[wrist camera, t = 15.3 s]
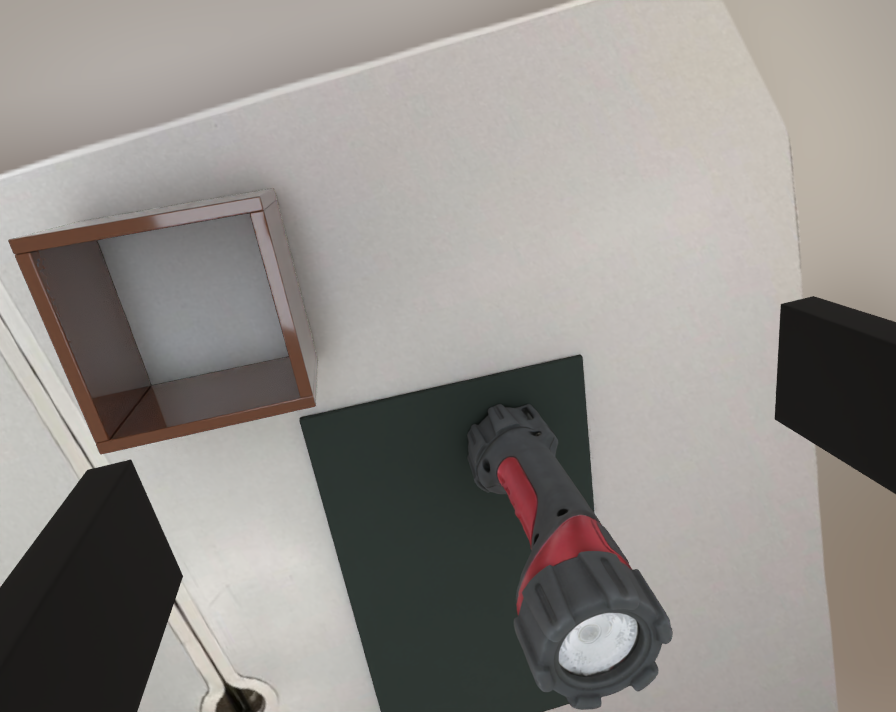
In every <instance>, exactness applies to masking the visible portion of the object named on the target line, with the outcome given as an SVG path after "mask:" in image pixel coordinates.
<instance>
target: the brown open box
mask: <svg viewBox="0 0 896 712" xmlns="http://www.w3.org/2000/svg"><path fill="white" fill-rule="evenodd" d="M276 199H277V197H276V193H275V189H274V188H270V189H264V190H258V191H252V192H247V193H241V194H235V195H229V196H223V197H218V198H212V199H206V200H200V201H194V202H189V203H183V204H177V205H171V206H165V207H160V208H154V209H148V210H142V211H136V212H131V213H125V214H119V215H113V216H107V217H102V218H96V219H90V220H84V221H78V222H74V223H71V224H67V225H63V226H59V227H55V228H51V229H48V230H44V231H40V232H36V233H32V234H29V235H25V236H21V237H17V238H13V239H9V240H8V242H9V244H10V246H11V249H12V251H13V253H14V254H16V255H15V258H16V260H17V262H18V264H19V267H20V269H21V271H22V274H23V276H24V278H25V281H26V283H27V285H28V288H29V290H30V292H31V295H32V297H33V299H34V302H35V304H36V306H37V309H38V311H39V313H40V316H41V318H42V320H43V322H44V325H45V327H46V329H47V332H48V334H49V336H50V339H51V341H52V343H53V346H54V348H55V350H56V353H57V355H58V357H59V360H60V362H61V364H62V367H63V369H64V371H65V374H66V376H67V378H68V380H69V383H70V385H71V387H72V390H73V392H74V394H75V397H76V399H77V401H78V404H79V406H80V408H81V411H82V413H83V415H84V418H85V420H86V422H87V425H88V427H89V429H90V432H91V434H92V436H93V438H94V441H95V443H96V446H97V448H98V450H99V453H100V454H105V453H110V452H114V451H119V450H123V449H128V448H132V447H137V446H141V445H145V444H150V443H154V442H159V441H163V440H168V439H172V438H177V437H181V436H186V435H190V434H195V433H199V432H204V431H208V430H212V429H217V428H221V427H226V426H230V425H235V424H239V423H244V422H248V421H253V420H257V419H262V418H266V417H271V416H275V415H280V414H284V413H288V412H293V411H297V410H302V409H306V408H311V407H315V406H316V392H317V371H318V357H317V353H316V349H315V345H314V341H313V337H312V334H311V330H310V326H309V322H308V318H307V314H306V310H305V306H304V302H303V298H302V294H301V291H300V287H299V283H298V279H297V275H296V271H295V267H294V263H293V259H292V255H291V251H290V247H289V244H288V240H287V236H286V232H285V228H284V224H283V220H282V216H281V212H280V208H279V204H278V201H277V200H276ZM247 213H250V216H251V220H252V224H253V227H254V231H255V235H256V238H257V242H258V245H259V249H260V253H261V256H262V260H263V264H264V267H265V271H266V275H267V278H268V282H269V285H270V289H271V293H272V296H273V300H274V304H275V307H276V311H277V315H278V318H279V322H280V325H281V329H282V333H283V336H284V340H285V344H286V347H287V351H288V355H289V357H284V358H279V359H275V360H270V361H265V362H260V363H256V364H251V365H246V366H241V367H237V368H232V369H227V370H222V371H218V372H213V373H208V374H203V375H199V376H194V377H189V378H185V379H180V380H175V381H170V382H166V383H161V384H156V385H151V383H150V381H149V378H148V375H147V373H146V370H145V367H144V365H143V362H142V359H141V357H140V354H139V351H138V349H137V346H136V343H135V341H134V338H133V335H132V333H131V330H130V327H129V325H128V322H127V319H126V317H125V314H124V311H123V309H122V306H121V303H120V301H119V298H118V295H117V293H116V290H115V287H114V285H113V282H112V279H111V277H110V274H109V271H108V269H107V266H106V263H105V261H104V258H103V255H102V253H101V250H100V247H99V245H98V242H97V240H101V239H106V238H112V237H118V236H123V235H129V234H134V233H140V232H146V231H151V230H157V229H163V228H168V227H174V226H180V225H185V224H191V223H197V222H202V221H208V220H213V219H219V218H225V217H230V216H236V215H242V214H247Z"/></svg>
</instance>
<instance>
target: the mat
mask: <svg viewBox="0 0 896 712" xmlns="http://www.w3.org/2000/svg"><path fill="white" fill-rule="evenodd" d="M498 404H502V405H503V406H504V407H505V408H506V407H510V408H517V407H521V406H524V405H527V404H530V405H531V406H532V407H533V408H534V409H535V410H536V411H537V412H538V413H539V415H540V416H541V418H542V419H543V421H544V422H545V423H546V424H547V425H548V427H549V428H550V429H551V430H552V431H553V432H554V433H555V436H556V438H557V439H558V446H557V449H556V455H555V457H556V459H557V460H558V462H559V463H560V465H561V466H562V467H563V469H564V470H565V472H566V473H567V475H568V476H569V477H570V479H571V480H572V482H573V483H574V485H575V486H576V487H577V489H578V490H579V492H580V493H581V495H582V496H583V498H584V499H585V501H586V502H587V504H588V505H589V506H590V508H591V509H592V511H593V512H594V502H593V489H592V476H591V463H590V450H589V437H588V424H587V410H586V397H585V384H584V371H583V358H582V356H581V355H577V356H572V357H568V358H563V359H559V360H554V361H550V362H546V363H541V364H537V365H532V366H528V367H523V368H519V369H514V370H510V371H506V372H501V373H497V374H492V375H488V376H483V377H479V378H475V379H470V380H466V381H461V382H457V383H452V384H448V385H444V386H439V387H435V388H430V389H426V390H421V391H417V392H413V393H408V394H404V395H399V396H395V397H390V398H386V399H381V400H377V401H373V402H368V403H364V404H359V405H355V406H350V407H346V408H342V409H337V410H333V411H328V412H324V413H319V414H315V415H311V416H306V417H302V418H300V424H301V427H302V431H303V435H304V438H305V442H306V445H307V449H308V452H309V456H310V460H311V463H312V467H313V470H314V474H315V477H316V481H317V485H318V488H319V492H320V495H321V499H322V502H323V506H324V510H325V513H326V517H327V520H328V524H329V527H330V531H331V535H332V538H333V542H334V545H335V549H336V553H337V556H338V560H339V563H340V567H341V570H342V574H343V578H344V581H345V585H346V588H347V592H348V595H349V599H350V603H351V606H352V610H353V613H354V617H355V620H356V624H357V628H358V631H359V635H360V638H361V642H362V645H363V649H364V653H365V656H366V660H367V663H368V667H369V670H370V674H371V678H372V681H373V685H374V688H375V692H376V695H377V699H378V703H379V706H380V710H381V712H544V711H547V710H550V709H554V708H557V707H560V706H563V705H566V704H569V702H568V700H567V698H566V697H565V696H564V695H562V694H560V693H558V692H556V691H555V690H552V691H550V692H543V691H542V690H541V689H540V688H539V687H538V686H537V684H536V682H535V679H534V677H533V674H532V672H531V670H530V667H529V664H528V662H527V659H526V657H525V654H524V651H523V649H522V647H521V644H520V642H519V640H518V637H517V635H516V632H515V628H514V619H515V618H516V617H517V616H518V614H517V608H516V593H517V588H518V585H519V581H520V577H521V574H522V571H523V569H524V566H525V564H526V562H527V560H528V558H529V556H530V553H531V551H532V550H531V546H530V542H529V539H528V537H527V535H526V533H525V531H524V529H523V526H522V523H521V522H520V520H519V518H518V517H517V516H516V515H515V509H514V507H513V505H512V503H511V502H510V499H509V496H508V495H506V494H496V493H493V492H489V493H488V492H486V491H484V490H482V489H481V488H479V487H478V486H477V484H476V483H475V481H474V477H473V474H472V470H471V467H470V464H469V461H468V458H467V456H468V454H469V452H468V443H469V441H468V437H467V434H468V432H469V431H470V429H471V426H472V425H473V424H477V425H479V424H480V423H481V422H482V421H483V420H484V419H485V418H486V417H487V416H488V409H489V408H491V407H494V406H496V405H498Z"/></svg>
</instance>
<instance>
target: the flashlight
mask: <svg viewBox="0 0 896 712" xmlns="http://www.w3.org/2000/svg"><path fill="white" fill-rule="evenodd" d="M467 437H468V441H469V443H468V452H469V454H468V456H467V458H468V461H469V464H470V467H471V470H472V474H473V477H474V481H475V483H476V484H477V486H478V487H479V488H481V489H482V490H484V491H486V492H488V493H489V492H493V493H496V494H506V495H508V496H509V499H510V502H511V503H512V505H513V507H514V509H515V515H516V516H517V517H518V518H519V520H520V522H521V523H522V526H523V529H524V531H525V533H526V535H527V537H528V539H529V542H530V546H531V550H532V551H531V553H530V556H529V558H528V560H527V562H526V564H525V566H524V569H523V571H522V574H521V577H520V581H519V585H518V588H517V593H516V608H517V614H518V616H517V617H516V618H515V619H514V628H515V632H516V635H517V637H518V640H519V642H520V644H521V647H522V649H523V651H524V654H525V657H526V659H527V662H528V664H529V667H530V670H531V672H532V674H533V677H534V679H535V682H536V684H537V686H538V687H539V688H540V689H541V690H542V691H543V692H550V691H552V690H555V691H556V692H558V693H560V694H562V695H564V696H565V697H566V698H567V700H568V702H569V704H570V705H571V706H572V707H573V708H576V709H595V708H599V707H601V697H603V696H607V695H611V694H614V693H616V692H619V691H621V690H623V689H624V688H626V687H628V686H632V687H633V688H634V689H635V690H636V691H640V690H642V689H644V688H645V687H646V686H648V685H649V684H650V683H651V682H652V681H653V680H654V679H655V678H656V676H657V674H658V667H657V665H656V663H655V660H656V658H657V656H658V654H659V652H660V649H661V645H662V643H664V644H667V643H669V642H670V641H671V639H672V633H673V632H672V628H671V625H670V620H669V618H668V616H667V614H666V612H665V611H664V609H663V608H662V606H661V605H660V603H659V601H658V600H657V598H656V597H655V595H654V593H653V592H652V590H651V589H650V587H649V586H648V584H647V583H646V581H645V579H644V578H643V576H642V575H641V573H640V572H639V570H637V569H635V570H632V568H631V567H630V565H629V562H628V560H627V559H626V557H625V556H624V554H623V553H622V551H621V550H620V548H619V547H618V545H617V544H616V543H615V541H614V540H613V538H612V537H611V535H610V534H609V532H608V531H607V530H606V529H605V527H603V526H602V524H601V523H600V521H599V520H598V518H597V517H596V515H595V514H594V512H593V511H592V509H591V508H590V506H589V505H588V504H587V502H586V501H585V499H584V498H583V496H582V495H581V493H580V492H579V490H578V489H577V487H576V486H575V485H574V483H573V482H572V480H571V479H570V477H569V476H568V475H567V473H566V472H565V470H564V469H563V467H562V466H561V465H560V463H559V462H558V460H557V459H556V457H555V455H556V449H557V446H558V439H557V438H556V436H555V433H554V432H553V431H552V430H551V429H550V428H549V427H548V425H547V424H546V423H545V422H544V421H543V419H542V418H541V416H540V415H539V413H538V412H537V411H536V410H535V409H534V408H533V407H532V406H531V405H530V404H527V405H524V406H521V407H517V408H510V407H506V408H505V407H504V406H503V405H502V404H498V405H496V406H494V407H491V408H489V409H488V416H487V417H486V418H485V419H484V420H483V421H482V422H481V423H480V424H479V425H477V424H473V425H472V426H471V429H470V431H469V432H468V434H467Z"/></svg>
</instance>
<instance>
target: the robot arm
mask: <svg viewBox="0 0 896 712" xmlns="http://www.w3.org/2000/svg"><path fill="white" fill-rule="evenodd" d="M775 420H777V421H778V422H780V423H782V424H783V425H785V426H786V427H788V428H790V429H791V430H793V431H795V432H796V433H798V434H799V435H801V436H803V437H804V438H806V439H807V440H809V441H811V442H812V443H814V444H816V445H817V446H819V447H820V448H822V449H824V450H825V451H827V452H829V453H830V454H832V455H833V456H835V457H837V458H838V459H840V460H841V461H843V462H845V463H846V464H848V465H850V466H851V467H853V468H854V469H856V470H858V471H859V472H861V473H862V474H864V475H866V476H867V477H869V478H870V479H872V480H874V481H875V482H877V483H879V484H880V485H882V486H883V487H885V488H887V489H888V490H890V491H892V492H893V493H895V494H896V322H893V321H891V320H887V319H884V318H881V317H878V316H875V315H871V314H868V313H865V312H862V311H858V310H856V309H852V308H849V307H846V306H843V305H840V304H836V303H833V302H830V301H827V300H824V299H821V298H817V297H814V296H813V297H809V298H805V299H800V300H796V301H792V302H788V303H784V304H781V312H780V330H779V349H778V368H777V386H776V405H775ZM182 578H183V575H182V573H181V570H180V568H179V566H178V564H177V561H176V559H175V557H174V555H173V553H172V550H171V548H170V546H169V544H168V541H167V539H166V537H165V535H164V532H163V530H162V528H161V526H160V523H159V521H158V519H157V517H156V514H155V512H154V510H153V508H152V505H151V503H150V501H149V499H148V496H147V494H146V492H145V490H144V487H143V485H142V483H141V481H140V478H139V476H138V474H137V472H136V469H135V467H134V465H133V463H132V460H127V461H123V462H119V463H115V464H111V465H107V466H102V467H98V468H94V469H90V470H87V471H86V472H85V474H84V475H83V477H82V478H81V479H80V481H79V482H78V483H77V485H76V486H75V487H74V489H73V490H72V491H71V493H70V494H69V495H68V497H67V498H66V499H65V501H64V502H63V503H62V505H61V506H60V508H59V509H58V510H57V512H56V513H55V514H54V516H53V517H52V518H51V520H50V521H49V522H48V524H47V525H46V526H45V528H44V529H43V530H42V532H41V533H40V534H39V536H38V537H37V538H36V540H35V541H34V543H33V544H32V545H31V547H30V548H29V549H28V551H27V552H26V553H25V555H24V556H23V557H22V559H21V560H20V561H19V563H18V564H17V565H16V567H15V568H14V569H13V571H12V572H11V574H10V575H9V576H8V578H7V579H6V580H5V582H4V583H3V584H2V586H1V587H0V712H137V711H138V708H139V705H140V702H141V699H142V696H143V693H144V690H145V687H146V684H147V681H148V678H149V675H150V672H151V669H152V666H153V663H154V660H155V657H156V654H157V652H158V649H159V646H160V643H161V640H162V637H163V634H164V631H165V628H166V625H167V622H168V619H169V616H170V613H171V610H172V607H173V604H174V601H175V598H176V595H177V592H178V590H179V587H180V584H181V581H182Z"/></svg>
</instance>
